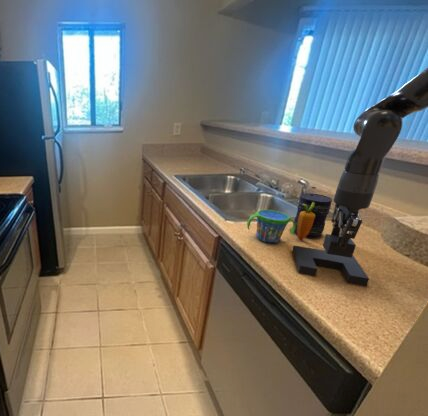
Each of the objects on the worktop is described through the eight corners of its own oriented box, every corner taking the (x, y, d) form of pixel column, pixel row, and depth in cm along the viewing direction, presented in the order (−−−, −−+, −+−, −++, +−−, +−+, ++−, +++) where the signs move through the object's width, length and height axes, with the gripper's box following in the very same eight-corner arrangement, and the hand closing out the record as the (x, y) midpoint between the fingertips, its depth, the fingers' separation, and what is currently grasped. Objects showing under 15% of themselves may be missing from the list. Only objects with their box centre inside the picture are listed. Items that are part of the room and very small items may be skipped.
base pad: (350, 261, 89) (352, 255, 88) (366, 286, 77) (369, 278, 76) (292, 251, 95) (293, 245, 94) (298, 272, 84) (300, 265, 83)
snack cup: (288, 236, 106) (295, 212, 102) (294, 249, 97) (301, 223, 93) (244, 230, 112) (248, 207, 108) (245, 241, 102) (250, 216, 99)
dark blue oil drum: (327, 239, 103) (341, 194, 96) (298, 237, 105) (310, 193, 98) (313, 228, 112) (325, 186, 106) (287, 227, 114) (297, 185, 107)
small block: (345, 249, 81) (349, 237, 80) (351, 257, 77) (356, 245, 75) (322, 245, 84) (325, 233, 82) (327, 253, 79) (330, 241, 78)
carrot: (294, 242, 101) (304, 204, 96) (290, 236, 106) (300, 200, 100) (310, 244, 100) (321, 205, 95) (305, 238, 104) (316, 201, 99)
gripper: (385, 198, 66) (362, 258, 72) (364, 182, 78) (346, 235, 84) (346, 194, 69) (327, 252, 75) (331, 180, 81) (316, 231, 87)
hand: (337, 243), depth 80 cm, fingers closed on small block, 5 cm apart
